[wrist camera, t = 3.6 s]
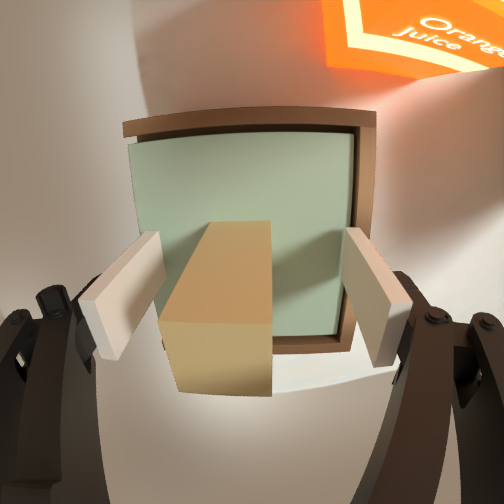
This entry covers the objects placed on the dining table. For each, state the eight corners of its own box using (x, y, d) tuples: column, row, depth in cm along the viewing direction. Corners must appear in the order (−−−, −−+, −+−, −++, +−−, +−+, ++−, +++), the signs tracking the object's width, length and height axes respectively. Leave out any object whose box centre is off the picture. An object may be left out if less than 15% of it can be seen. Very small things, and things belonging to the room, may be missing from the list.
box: (170, 120, 19) (122, 122, 12) (339, 115, 18) (376, 111, 11) (189, 290, 25) (164, 350, 18) (330, 289, 24) (349, 351, 17)
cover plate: (137, 142, 14) (12, 177, 6) (347, 133, 13) (447, 152, 5) (167, 321, 19) (118, 434, 11) (333, 322, 18) (362, 445, 10)
